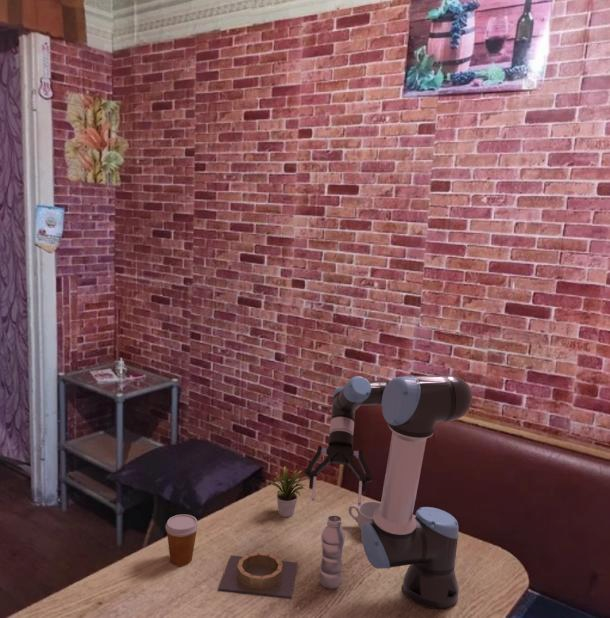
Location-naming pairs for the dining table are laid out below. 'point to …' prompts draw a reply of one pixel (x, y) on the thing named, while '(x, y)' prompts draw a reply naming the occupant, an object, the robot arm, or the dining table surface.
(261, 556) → the collar stand
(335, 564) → the plastic bottle
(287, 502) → the house plant
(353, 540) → the dining table surface
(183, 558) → the disposable coffee cup
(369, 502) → the teacup
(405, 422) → the robot arm
